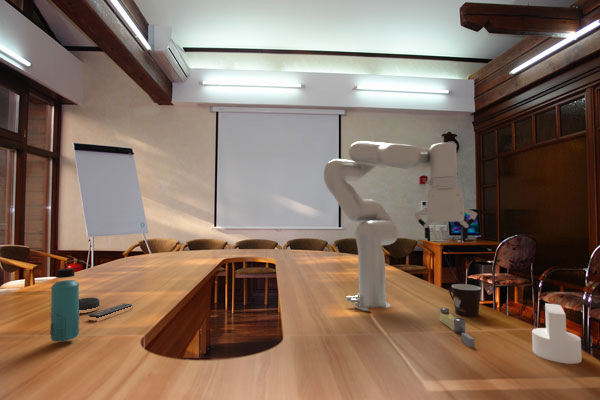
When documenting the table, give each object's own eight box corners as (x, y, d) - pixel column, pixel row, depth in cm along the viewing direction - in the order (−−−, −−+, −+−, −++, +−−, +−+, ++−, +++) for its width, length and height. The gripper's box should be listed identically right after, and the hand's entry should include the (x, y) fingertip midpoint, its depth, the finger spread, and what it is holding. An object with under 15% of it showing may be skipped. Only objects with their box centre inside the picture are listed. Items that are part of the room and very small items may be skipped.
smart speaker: (89, 315, 115) (89, 303, 116) (63, 315, 116) (64, 303, 116) (104, 307, 124) (104, 297, 124) (81, 307, 124) (81, 297, 125)
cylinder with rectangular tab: (585, 374, 71) (583, 316, 71) (534, 364, 76) (532, 310, 76) (578, 358, 78) (576, 306, 79) (531, 350, 83) (530, 301, 84)
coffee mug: (485, 323, 103) (484, 290, 104) (456, 321, 105) (455, 289, 105) (474, 312, 115) (473, 282, 115) (447, 310, 116) (446, 282, 117)
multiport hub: (132, 310, 121) (132, 304, 121) (97, 323, 108) (97, 315, 108) (123, 309, 123) (123, 303, 123) (87, 321, 109) (87, 314, 109)
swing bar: (467, 334, 90) (467, 320, 90) (457, 334, 90) (456, 320, 90) (447, 320, 102) (447, 307, 102) (438, 320, 102) (438, 307, 102)
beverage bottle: (84, 339, 92) (86, 267, 93) (60, 349, 86) (62, 271, 87) (68, 337, 94) (69, 266, 95) (43, 346, 88) (44, 270, 89)
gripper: (413, 184, 100) (415, 241, 99) (478, 181, 94) (480, 242, 94) (413, 186, 107) (415, 240, 106) (473, 184, 101) (475, 240, 101)
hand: (445, 241), depth 100 cm, fingers open, 9 cm apart
